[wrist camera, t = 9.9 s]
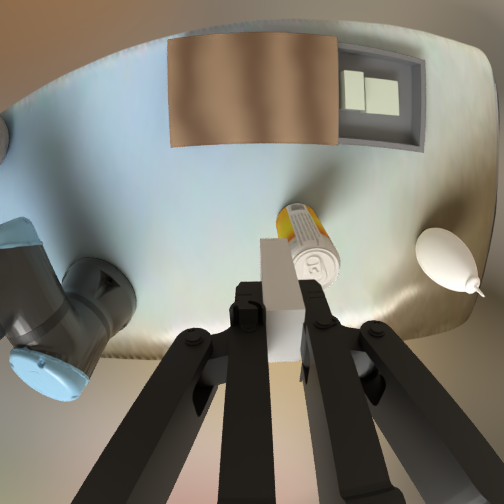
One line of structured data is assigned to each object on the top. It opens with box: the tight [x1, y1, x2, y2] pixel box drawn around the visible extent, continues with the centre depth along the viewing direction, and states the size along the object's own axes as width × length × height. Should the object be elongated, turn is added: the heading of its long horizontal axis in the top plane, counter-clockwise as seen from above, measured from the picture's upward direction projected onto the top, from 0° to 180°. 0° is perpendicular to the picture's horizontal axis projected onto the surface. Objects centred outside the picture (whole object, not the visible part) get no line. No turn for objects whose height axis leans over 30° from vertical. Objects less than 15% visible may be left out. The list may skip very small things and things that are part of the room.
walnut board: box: [167, 32, 339, 148], centre depth 33 cm, size 20×14×6 cm
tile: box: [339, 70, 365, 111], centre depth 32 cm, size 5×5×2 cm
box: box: [337, 42, 426, 153], centre depth 34 cm, size 14×14×4 cm
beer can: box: [276, 203, 340, 290], centre depth 37 cm, size 6×6×15 cm
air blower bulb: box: [416, 228, 484, 297], centre depth 36 cm, size 8×8×18 cm
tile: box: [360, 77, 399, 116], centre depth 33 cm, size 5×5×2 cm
